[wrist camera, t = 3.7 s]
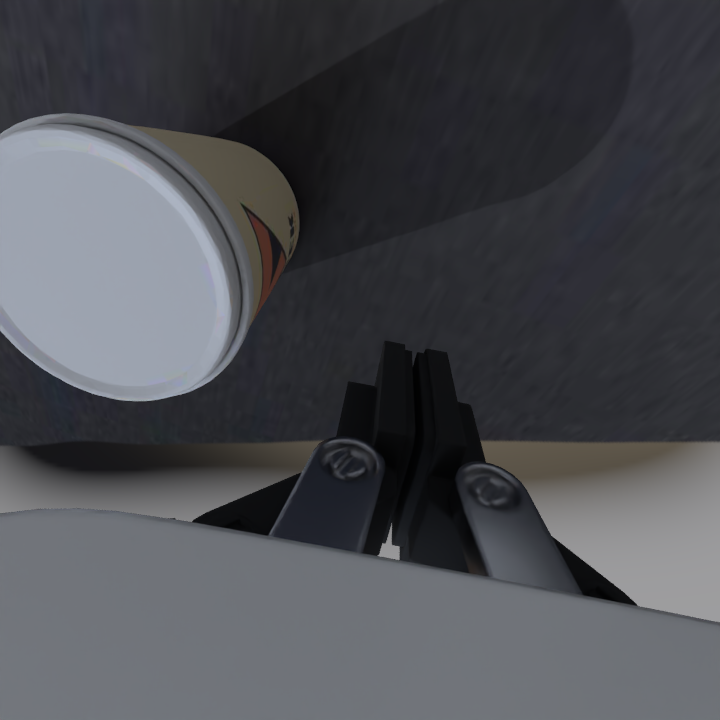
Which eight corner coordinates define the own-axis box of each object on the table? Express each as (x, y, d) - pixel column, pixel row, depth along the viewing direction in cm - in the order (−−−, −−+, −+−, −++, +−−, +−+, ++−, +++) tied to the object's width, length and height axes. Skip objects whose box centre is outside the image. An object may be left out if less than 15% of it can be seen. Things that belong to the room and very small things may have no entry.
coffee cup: (266, 324, 27) (176, 450, 16) (127, 237, 25) (-76, 315, 14) (347, 194, 23) (296, 250, 12) (188, 78, 21) (-33, 26, 10)
